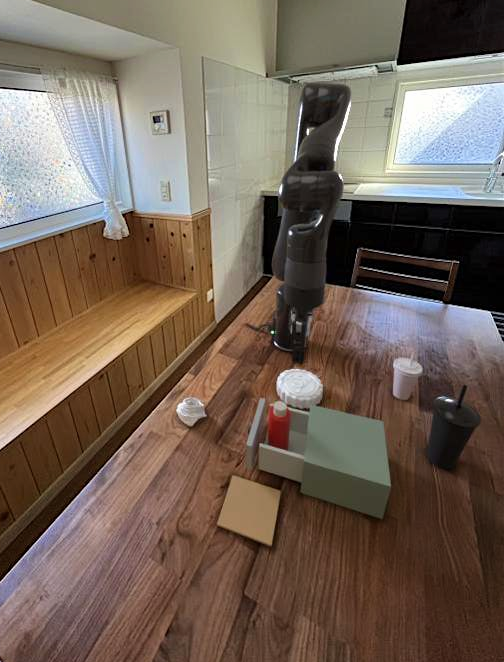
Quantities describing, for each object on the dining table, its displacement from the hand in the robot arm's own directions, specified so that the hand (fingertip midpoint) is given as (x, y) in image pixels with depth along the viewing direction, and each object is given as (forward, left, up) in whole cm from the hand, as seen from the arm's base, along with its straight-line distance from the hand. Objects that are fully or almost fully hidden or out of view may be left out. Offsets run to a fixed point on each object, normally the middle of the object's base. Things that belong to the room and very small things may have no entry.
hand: (300, 349), depth 70 cm
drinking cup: (+26, +15, -24) cm, 38 cm away
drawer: (+1, -7, -23) cm, 24 cm away
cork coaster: (+3, -21, -24) cm, 32 cm away
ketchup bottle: (0, -7, -22) cm, 23 cm away
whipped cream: (-22, -13, -24) cm, 35 cm away
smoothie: (+14, +29, -24) cm, 40 cm away
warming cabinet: (+12, -2, -24) cm, 27 cm away
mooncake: (-6, +12, -24) cm, 27 cm away
